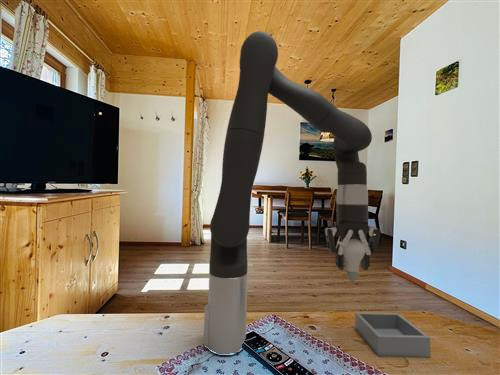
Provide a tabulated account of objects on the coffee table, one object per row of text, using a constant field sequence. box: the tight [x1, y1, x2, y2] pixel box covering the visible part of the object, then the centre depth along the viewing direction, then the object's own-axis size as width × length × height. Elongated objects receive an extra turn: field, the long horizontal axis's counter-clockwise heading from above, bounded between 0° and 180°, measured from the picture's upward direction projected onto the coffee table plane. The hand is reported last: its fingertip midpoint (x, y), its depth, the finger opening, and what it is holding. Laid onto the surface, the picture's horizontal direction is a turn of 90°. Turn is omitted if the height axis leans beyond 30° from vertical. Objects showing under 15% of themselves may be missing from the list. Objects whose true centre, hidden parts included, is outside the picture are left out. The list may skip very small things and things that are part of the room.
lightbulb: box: [342, 239, 365, 282], centre depth 64 cm, size 6×6×11 cm
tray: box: [354, 312, 431, 358], centre depth 63 cm, size 12×12×4 cm
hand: (352, 268), depth 64 cm, fingers closed on lightbulb, 5 cm apart
